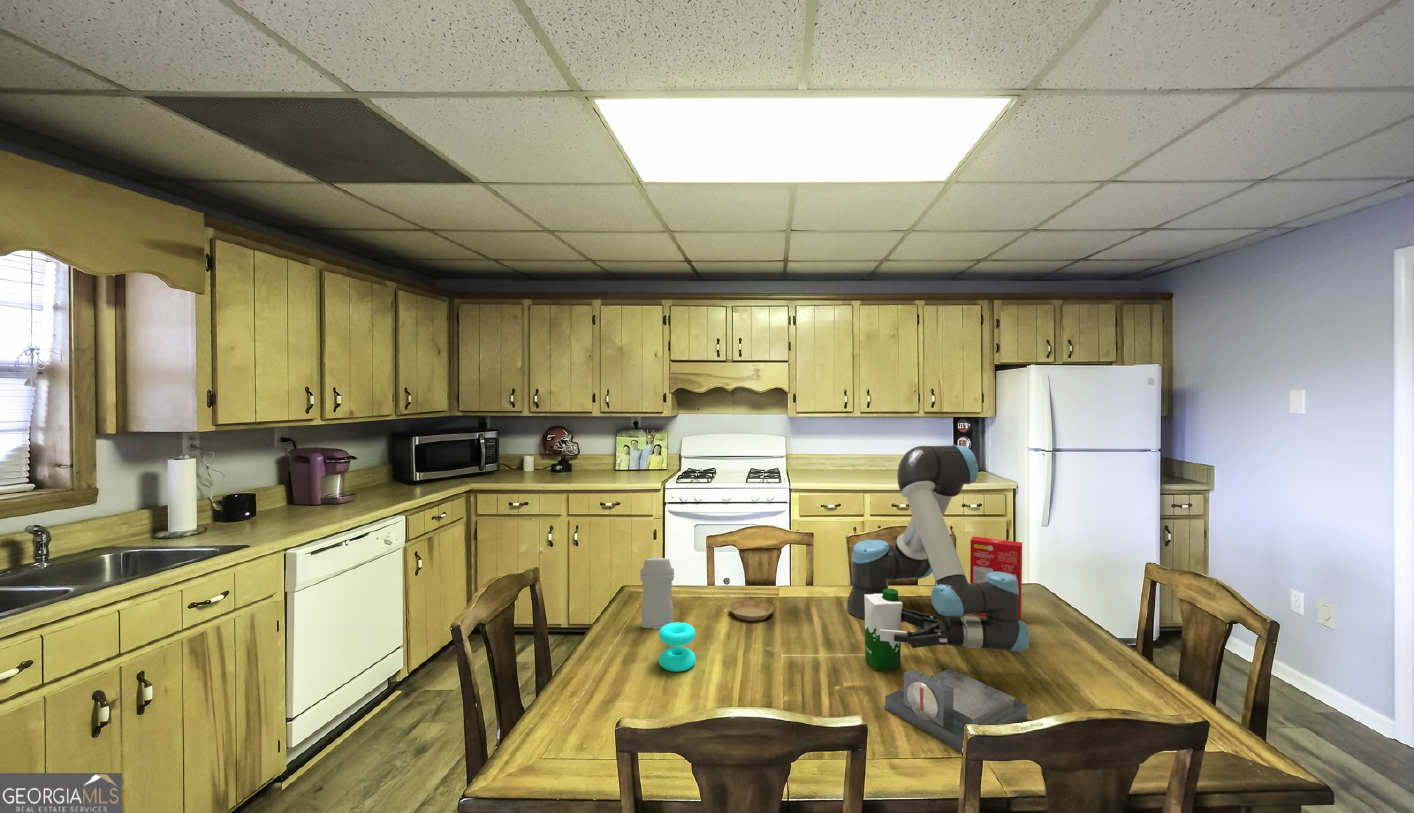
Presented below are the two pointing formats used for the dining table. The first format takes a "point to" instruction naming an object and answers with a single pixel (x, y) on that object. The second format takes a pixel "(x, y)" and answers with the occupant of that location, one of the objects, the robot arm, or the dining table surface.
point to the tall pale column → (657, 593)
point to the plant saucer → (751, 609)
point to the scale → (951, 705)
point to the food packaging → (996, 562)
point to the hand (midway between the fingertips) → (877, 624)
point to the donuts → (677, 656)
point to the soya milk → (882, 615)
